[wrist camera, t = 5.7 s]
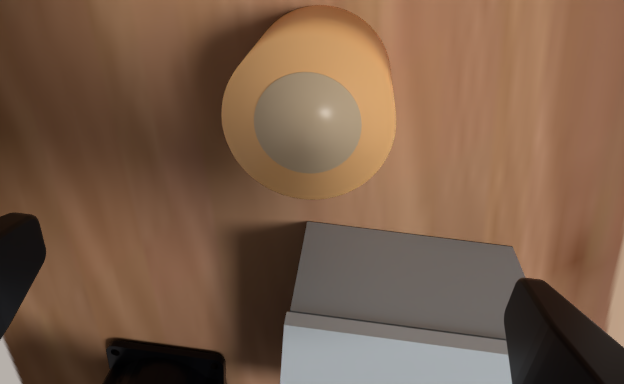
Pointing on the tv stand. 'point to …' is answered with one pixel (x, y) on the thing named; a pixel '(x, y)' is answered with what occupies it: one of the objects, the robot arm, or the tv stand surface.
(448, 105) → the tv stand surface
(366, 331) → the box lid
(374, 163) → the tan cylinder grey end
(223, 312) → the tv stand surface
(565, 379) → the robot arm
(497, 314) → the box
